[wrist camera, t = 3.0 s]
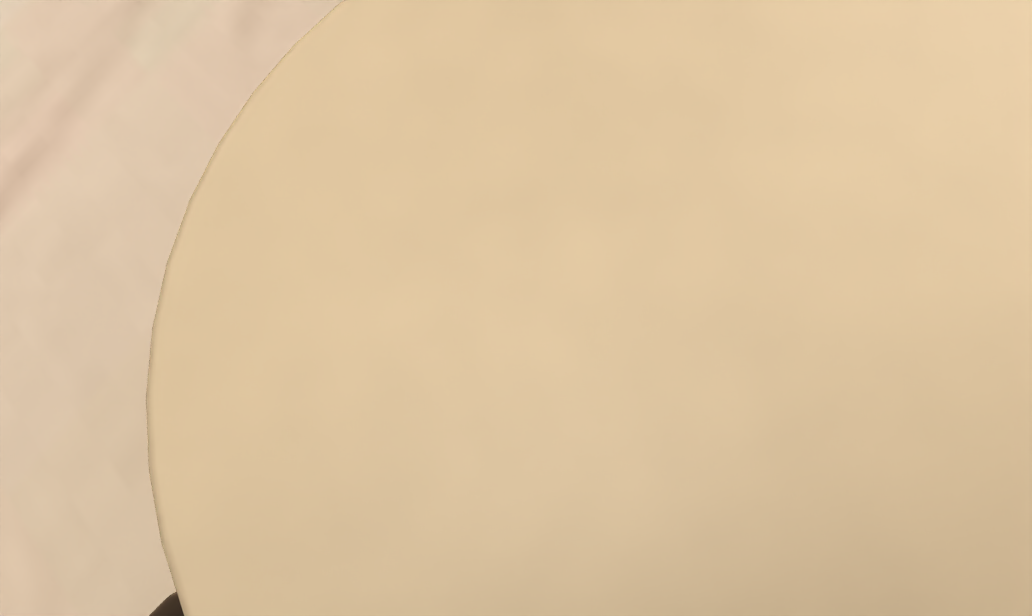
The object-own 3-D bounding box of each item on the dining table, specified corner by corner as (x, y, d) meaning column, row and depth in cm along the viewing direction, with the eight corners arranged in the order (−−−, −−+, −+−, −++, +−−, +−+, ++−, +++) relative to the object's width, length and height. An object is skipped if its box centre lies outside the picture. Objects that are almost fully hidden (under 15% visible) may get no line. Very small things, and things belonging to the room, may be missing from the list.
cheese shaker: (785, 673, 15) (1547, 1066, 3) (445, 667, 16) (38, 994, 4) (755, 342, 17) (1160, -149, 5) (455, 345, 18) (215, -103, 6)
